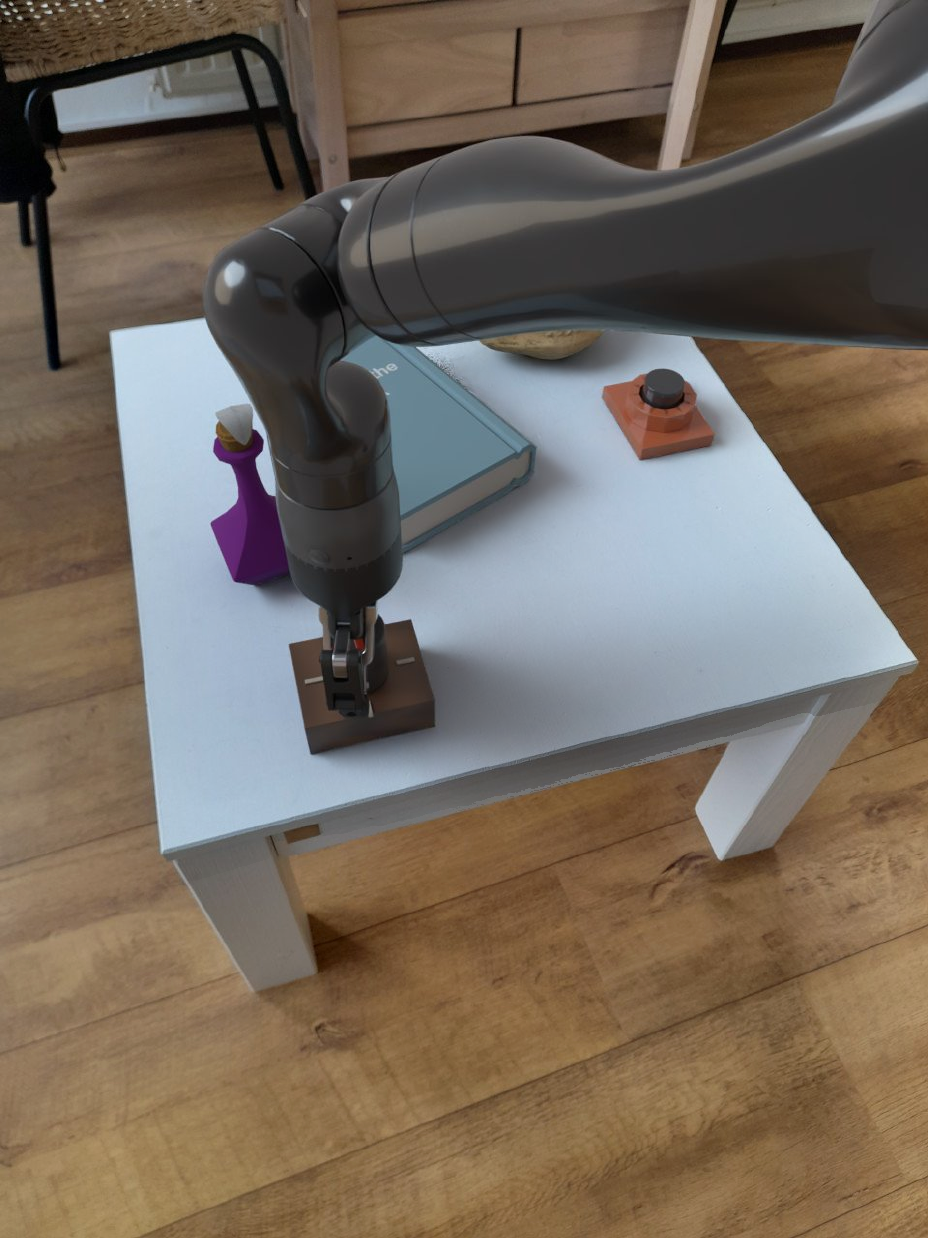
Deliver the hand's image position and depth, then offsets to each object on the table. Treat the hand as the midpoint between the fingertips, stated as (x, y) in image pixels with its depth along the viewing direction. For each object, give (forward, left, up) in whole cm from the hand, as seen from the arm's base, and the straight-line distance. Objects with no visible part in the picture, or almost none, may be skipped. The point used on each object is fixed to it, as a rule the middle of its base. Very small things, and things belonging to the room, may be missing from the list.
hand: (359, 664), depth 71 cm
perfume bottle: (+14, -10, -5) cm, 18 cm away
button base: (-14, -42, -5) cm, 45 cm away
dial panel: (0, 0, -5) cm, 5 cm away
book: (+9, -28, -5) cm, 30 cm away
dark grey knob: (-14, -42, -2) cm, 44 cm away
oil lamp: (+1, -49, -5) cm, 49 cm away
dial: (0, 0, -1) cm, 1 cm away
